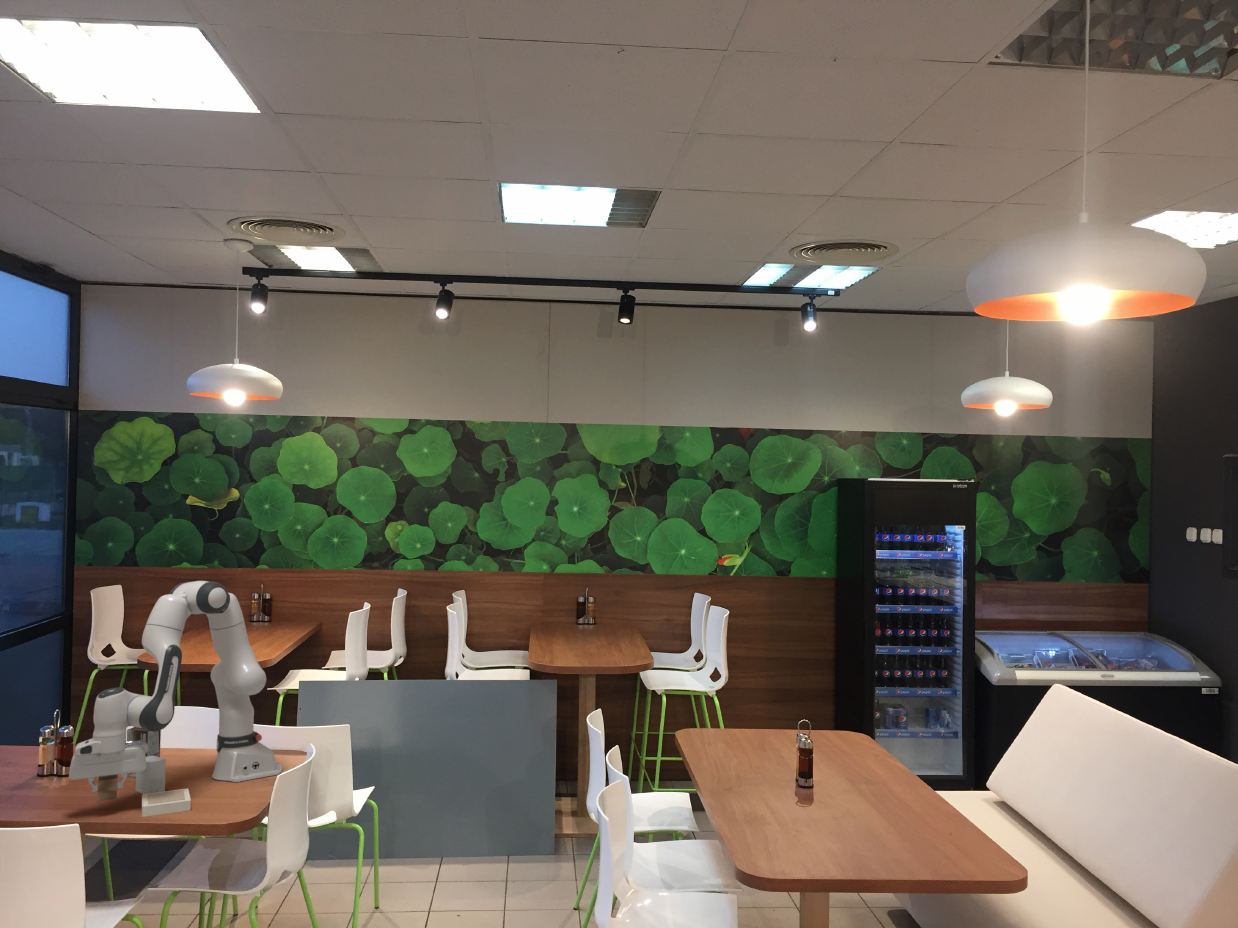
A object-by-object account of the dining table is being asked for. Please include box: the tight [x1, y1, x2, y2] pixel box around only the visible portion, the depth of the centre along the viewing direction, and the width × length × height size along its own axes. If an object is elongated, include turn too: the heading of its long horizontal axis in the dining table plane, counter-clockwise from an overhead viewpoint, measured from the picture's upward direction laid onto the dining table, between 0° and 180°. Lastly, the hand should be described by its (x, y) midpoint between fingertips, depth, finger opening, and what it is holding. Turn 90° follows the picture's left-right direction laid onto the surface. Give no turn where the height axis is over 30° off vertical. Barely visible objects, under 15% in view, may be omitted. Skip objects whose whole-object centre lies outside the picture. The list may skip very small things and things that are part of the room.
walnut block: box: [96, 774, 119, 802], centre depth 263 cm, size 5×5×6 cm
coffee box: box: [126, 726, 162, 778], centre depth 301 cm, size 9×6×16 cm
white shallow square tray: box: [141, 788, 192, 818], centre depth 269 cm, size 13×13×3 cm
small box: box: [135, 756, 167, 795], centre depth 283 cm, size 8×6×10 cm
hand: (107, 789), depth 263 cm, fingers closed on walnut block, 5 cm apart
